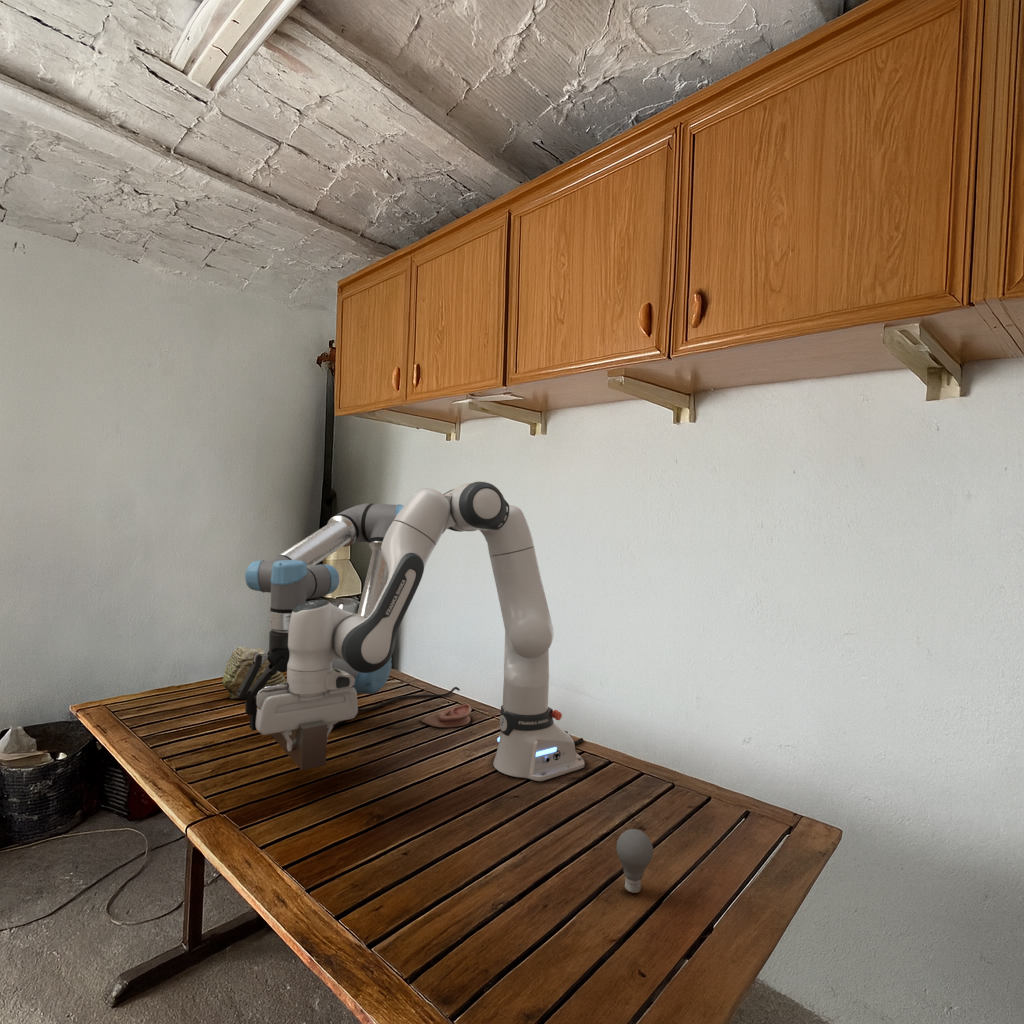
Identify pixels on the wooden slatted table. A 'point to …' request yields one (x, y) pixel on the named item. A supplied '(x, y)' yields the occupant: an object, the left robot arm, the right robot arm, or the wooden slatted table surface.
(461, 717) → the anatomical model
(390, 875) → the wooden slatted table surface
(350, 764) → the wooden slatted table surface
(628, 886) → the light bulb
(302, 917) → the wooden slatted table surface
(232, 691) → the fossil
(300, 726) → the bar
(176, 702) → the wooden slatted table surface
